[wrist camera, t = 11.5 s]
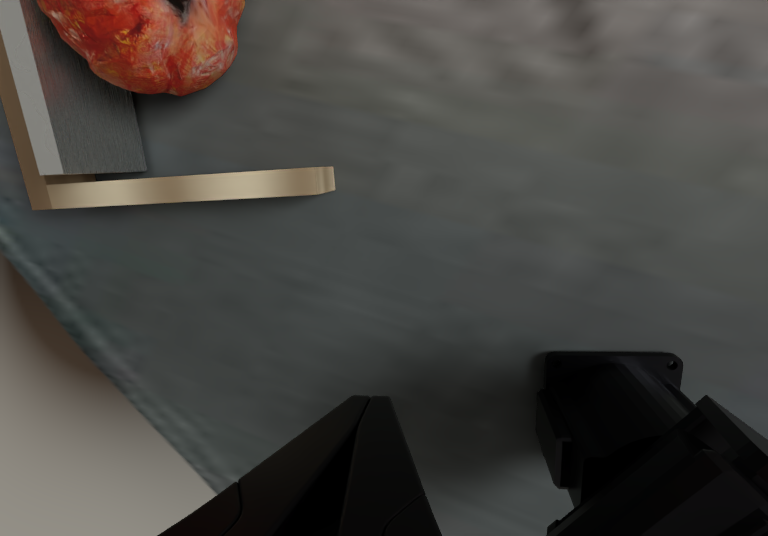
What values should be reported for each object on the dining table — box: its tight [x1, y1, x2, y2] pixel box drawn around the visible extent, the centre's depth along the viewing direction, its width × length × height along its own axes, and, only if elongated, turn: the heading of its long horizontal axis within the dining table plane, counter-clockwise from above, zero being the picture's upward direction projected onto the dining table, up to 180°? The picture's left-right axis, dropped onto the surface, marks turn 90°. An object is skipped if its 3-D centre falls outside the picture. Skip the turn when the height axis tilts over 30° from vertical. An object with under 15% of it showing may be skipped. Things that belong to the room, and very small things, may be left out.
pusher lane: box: [0, 30, 335, 210], centre depth 19 cm, size 15×13×3 cm
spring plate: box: [0, 0, 147, 175], centre depth 18 cm, size 1×10×5 cm, turn 3°
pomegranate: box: [37, 0, 245, 96], centre depth 17 cm, size 7×7×10 cm
